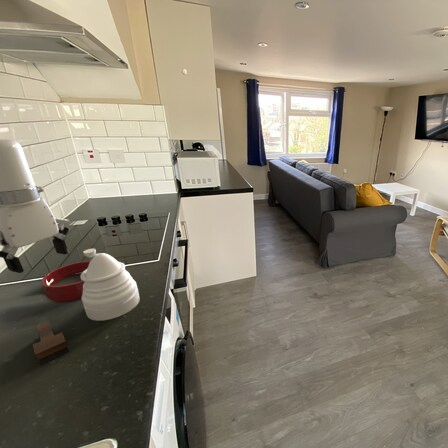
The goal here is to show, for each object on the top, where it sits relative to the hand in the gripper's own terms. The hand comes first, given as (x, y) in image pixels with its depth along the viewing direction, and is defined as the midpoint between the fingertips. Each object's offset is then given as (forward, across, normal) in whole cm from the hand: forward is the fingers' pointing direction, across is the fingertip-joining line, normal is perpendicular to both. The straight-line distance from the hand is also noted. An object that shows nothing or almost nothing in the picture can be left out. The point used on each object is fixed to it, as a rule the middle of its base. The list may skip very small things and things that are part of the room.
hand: (41, 261), depth 66 cm
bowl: (+16, -11, -8) cm, 21 cm away
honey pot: (+17, -7, +10) cm, 21 cm away
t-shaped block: (+16, +9, +9) cm, 21 cm away
